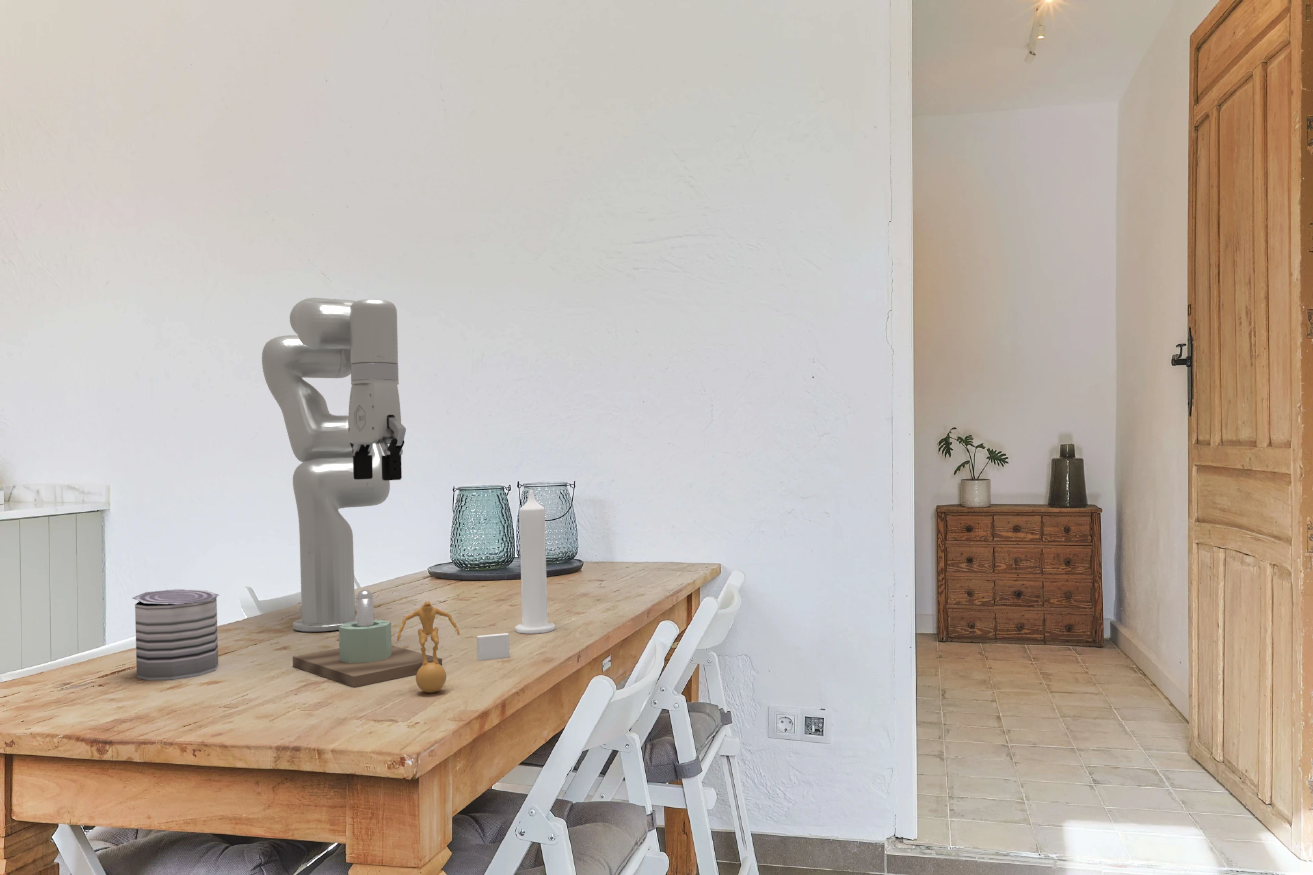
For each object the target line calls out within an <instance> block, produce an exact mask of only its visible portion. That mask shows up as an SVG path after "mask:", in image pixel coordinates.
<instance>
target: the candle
mask: <svg viewBox="0 0 1313 875" xmlns="http://www.w3.org/2000/svg"><path fill="white" fill-rule="evenodd" d="M518 514H519V516H518V517H519V518H518V519H519V522H518V523H519V547H520V548H519V550H520V551H519V553H520V557H519V558H520V587H521V591H520V592H521V622H522V623H519V624H517V625H515V627H514V629H515V630H514V631H515V632H516V633H519V634H528V635H529V634H531V635H534V634H545V633H550V632H552V631H555V629H556V625H555V623H553V622H549V619H548V617H549V616H548V588H547V587H548V585H547V583H548V581H547V555H546V554H547V552H546V550H547V548H546V513H545V507H544V506H542V505H541V504H540V503H538V502H537V500H536V497H535V495H534V490H533V489H530V490H529V493H528V498H527V501H526V503H524V504H523V505H522V506H521V507H519V509H518Z"/></svg>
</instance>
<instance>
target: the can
mask: <svg viewBox="0 0 1313 875" xmlns="http://www.w3.org/2000/svg"><path fill="white" fill-rule="evenodd" d="M219 596H220V594H218V593H215V592H211V591H209V590H205V589H204V590H203V589H200V590H199V589H178V588H177V589H176V588H175V589H167V590H166V589H165V590H156V591H155V590H154V591H145V592H143V593H140V594H138V595H136V596H133V597H132V599H133V600H136V601H138V602H136V603H135V604H134V612H135V618H134V619H135V652H136V653H135V654H136V655H135V656H136V657H135V658H136V660H135V661H136V679H139V680H144V681H146V682H147V681H148V682H151V681H152V682H153V681H154V682H155V681H157V682H158V681H174V680H175V681H176V680H181V679H189V678H195V677H200V676H203V675H206V674H209V673H212V672H215V671H216V670H217V669H218V667H219V644H218V639H219V638H218V608H217V607H218V606H217V605H218V604H217V602H218V601H217V600H218V599H217V598H218V597H219Z"/></svg>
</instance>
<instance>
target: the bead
mask: <svg viewBox="0 0 1313 875" xmlns="http://www.w3.org/2000/svg"><path fill="white" fill-rule="evenodd" d="M373 620H374V626H369V627H357V622H351V623H345V624H343V625H341V626H340V627H339V630H338V642H339V643H338V646H339V647H338V648H339V653H340V661H343V662H347V663H369V662H374V661H379V660H384V659H387V658H388V657H390V656H391V655H392V646H393V645H392V622H391V621H388V620H383V619H373Z"/></svg>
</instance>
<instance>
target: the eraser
mask: <svg viewBox="0 0 1313 875" xmlns="http://www.w3.org/2000/svg"><path fill="white" fill-rule="evenodd" d="M476 652H477V653H476V654H477V657H476V658H477V660H478V661H487V660H488V661H489V660H497V659H508V658H511V657H510V656H511V655H510V633H508V632H506V633H496V634H485V635H483V634H482V635H476Z"/></svg>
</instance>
